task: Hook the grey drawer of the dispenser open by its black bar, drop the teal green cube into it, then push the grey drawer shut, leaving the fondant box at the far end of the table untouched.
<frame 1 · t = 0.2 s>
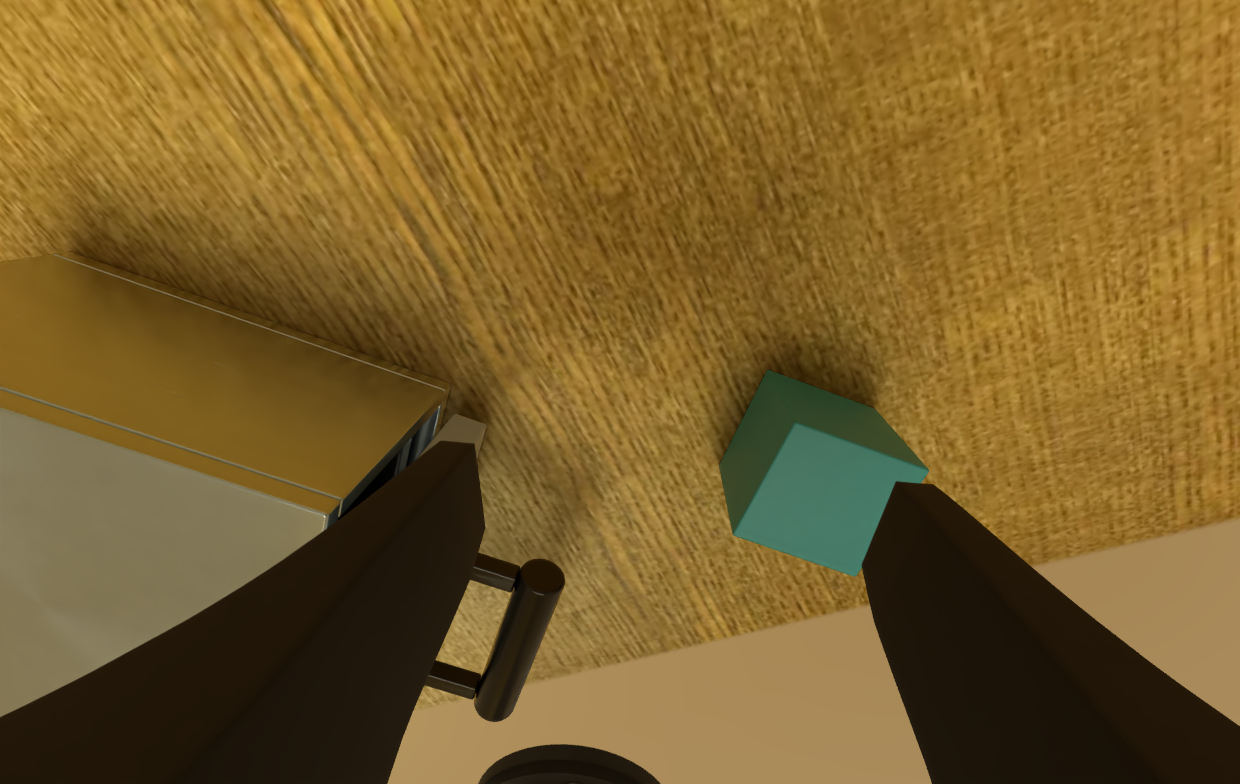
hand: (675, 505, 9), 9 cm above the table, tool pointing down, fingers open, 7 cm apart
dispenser: (254, 452, 21), on the table
grey drawer: (300, 553, 17), point 4 cm above the table, slide at 0.5 cm
teal green cube: (794, 438, 19), on the table
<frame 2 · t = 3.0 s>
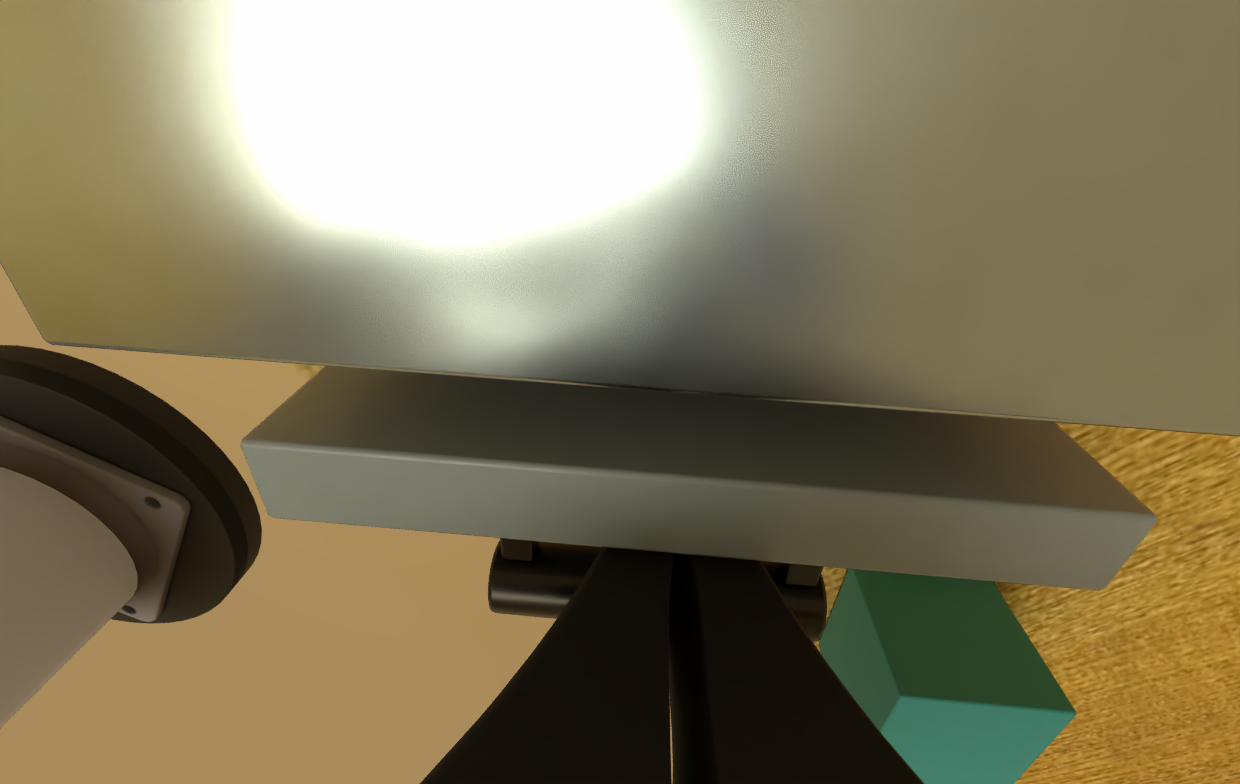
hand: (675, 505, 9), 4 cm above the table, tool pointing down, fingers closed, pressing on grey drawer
grey drawer: (702, 148, 7), point 4 cm above the table, slide at 1.5 cm, touching gripper
teal green cube: (897, 610, 17), on the table
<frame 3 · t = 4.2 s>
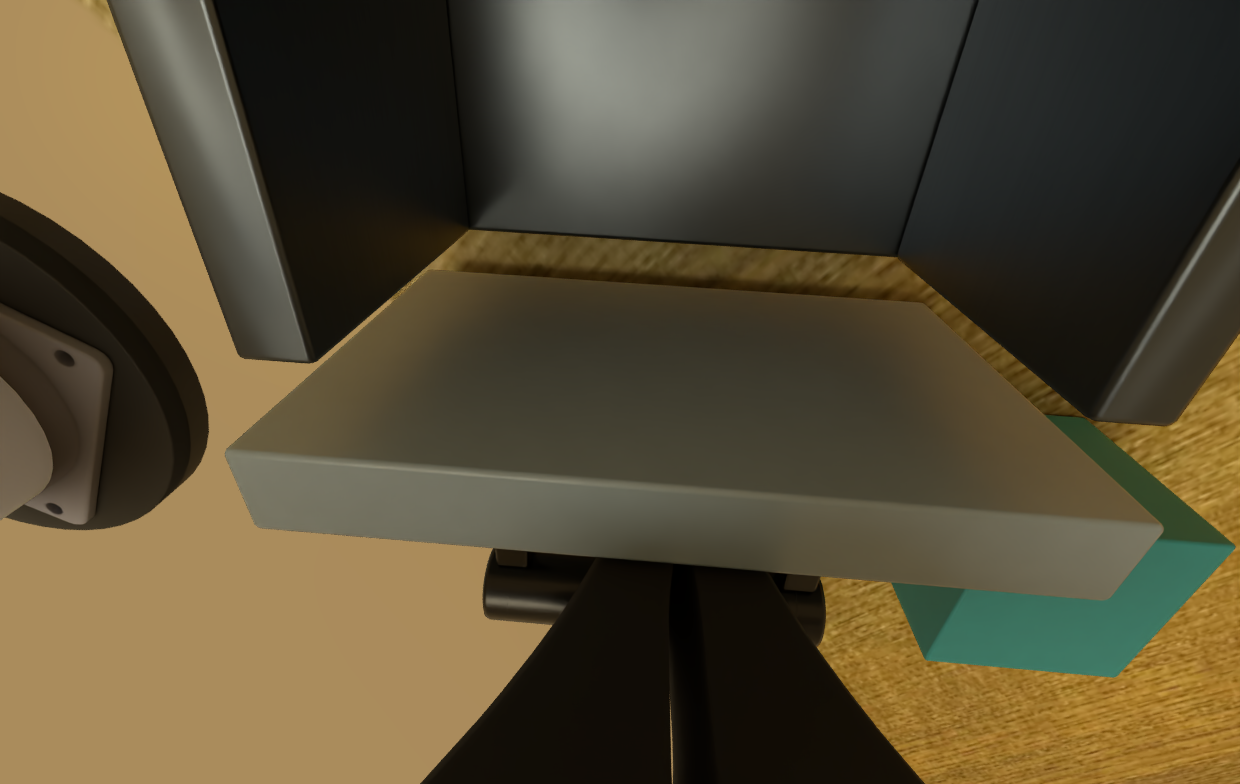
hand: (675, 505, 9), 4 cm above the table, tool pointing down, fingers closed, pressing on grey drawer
grey drawer: (697, 148, 7), point 4 cm above the table, slide at 7.1 cm, touching gripper
teal green cube: (966, 475, 14), on the table
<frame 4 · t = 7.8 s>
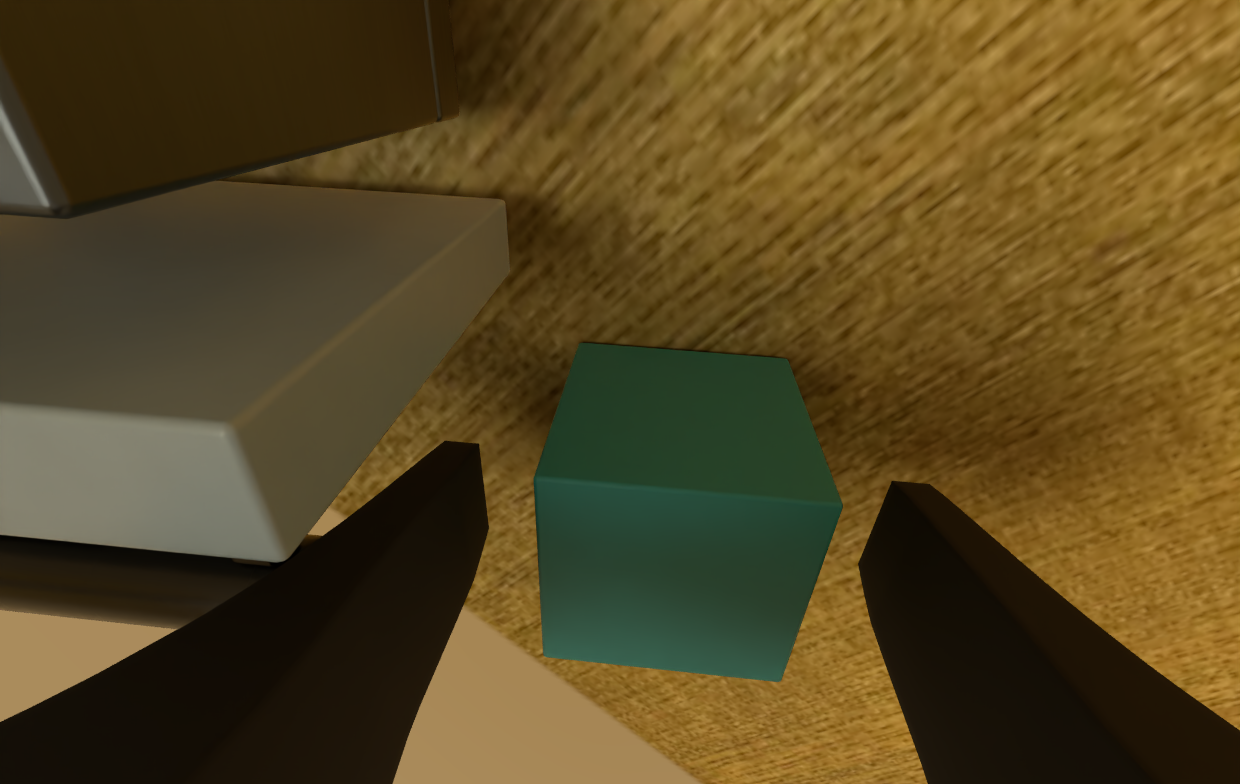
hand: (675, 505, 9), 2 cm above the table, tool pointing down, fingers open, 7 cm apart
teal green cube: (672, 433, 11), on the table
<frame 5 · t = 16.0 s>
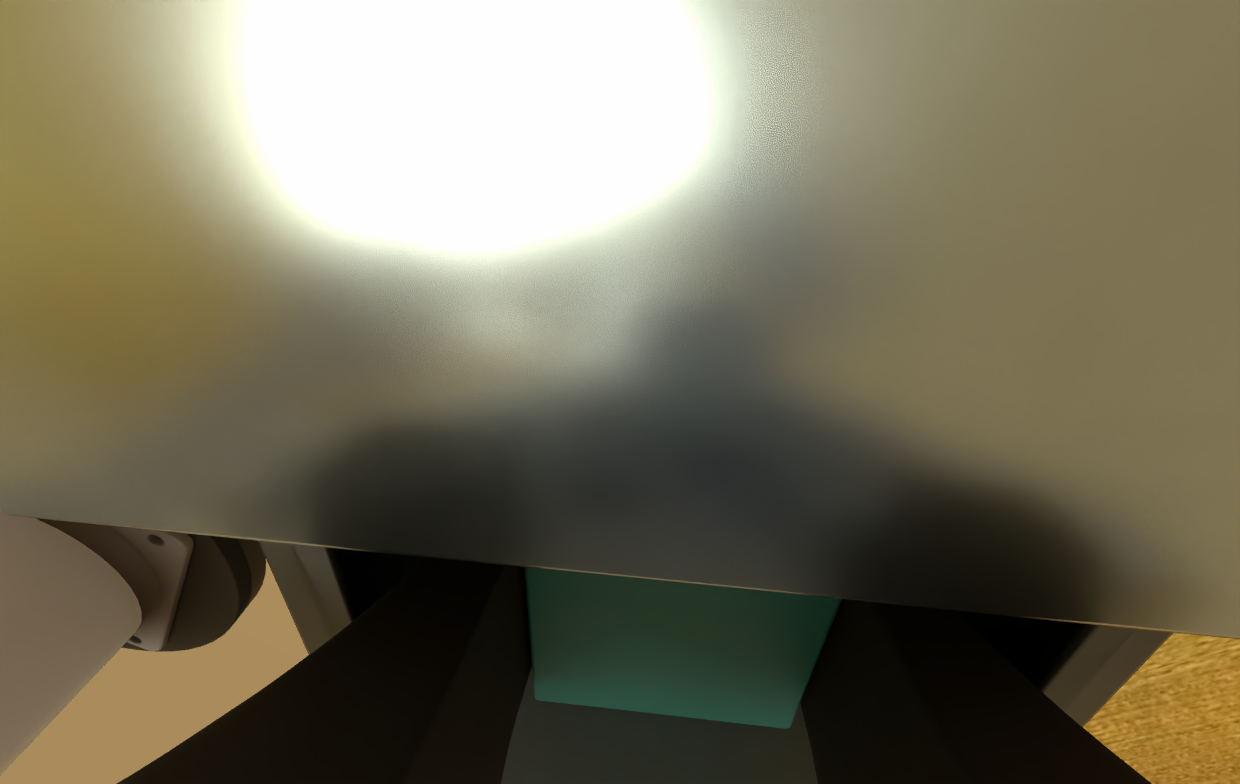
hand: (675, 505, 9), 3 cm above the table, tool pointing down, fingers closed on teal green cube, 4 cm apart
grey drawer: (669, 565, 9), point 4 cm above the table, slide at 7.1 cm, touching gripper
teal green cube: (673, 454, 11), point 2 cm above the table, touching gripper
when the fingers open (7 cm above the table, at t = 29.9 s): teal green cube drops 4 cm, resting on grey drawer.
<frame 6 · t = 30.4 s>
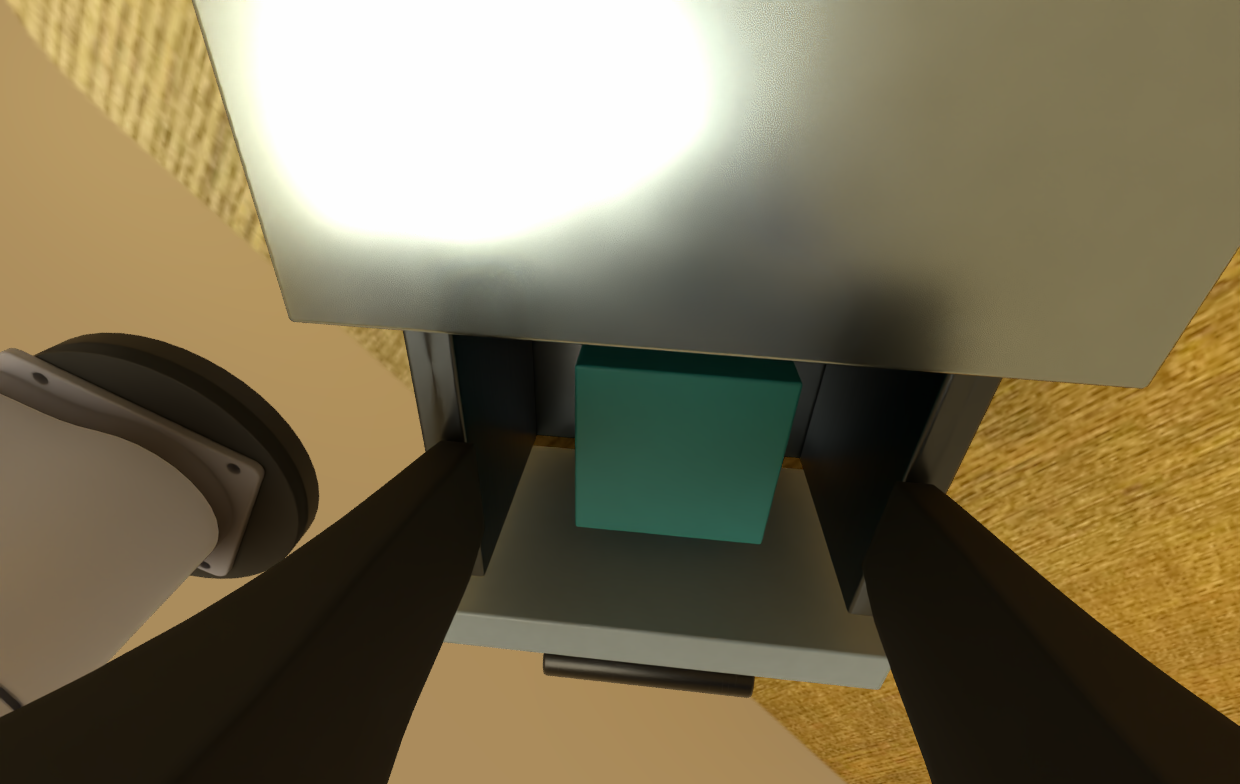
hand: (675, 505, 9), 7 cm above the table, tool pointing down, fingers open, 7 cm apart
grey drawer: (671, 439, 13), point 4 cm above the table, slide at 7.1 cm, touching teal green cube
teal green cube: (676, 364, 14), point 2 cm above the table, touching grey drawer
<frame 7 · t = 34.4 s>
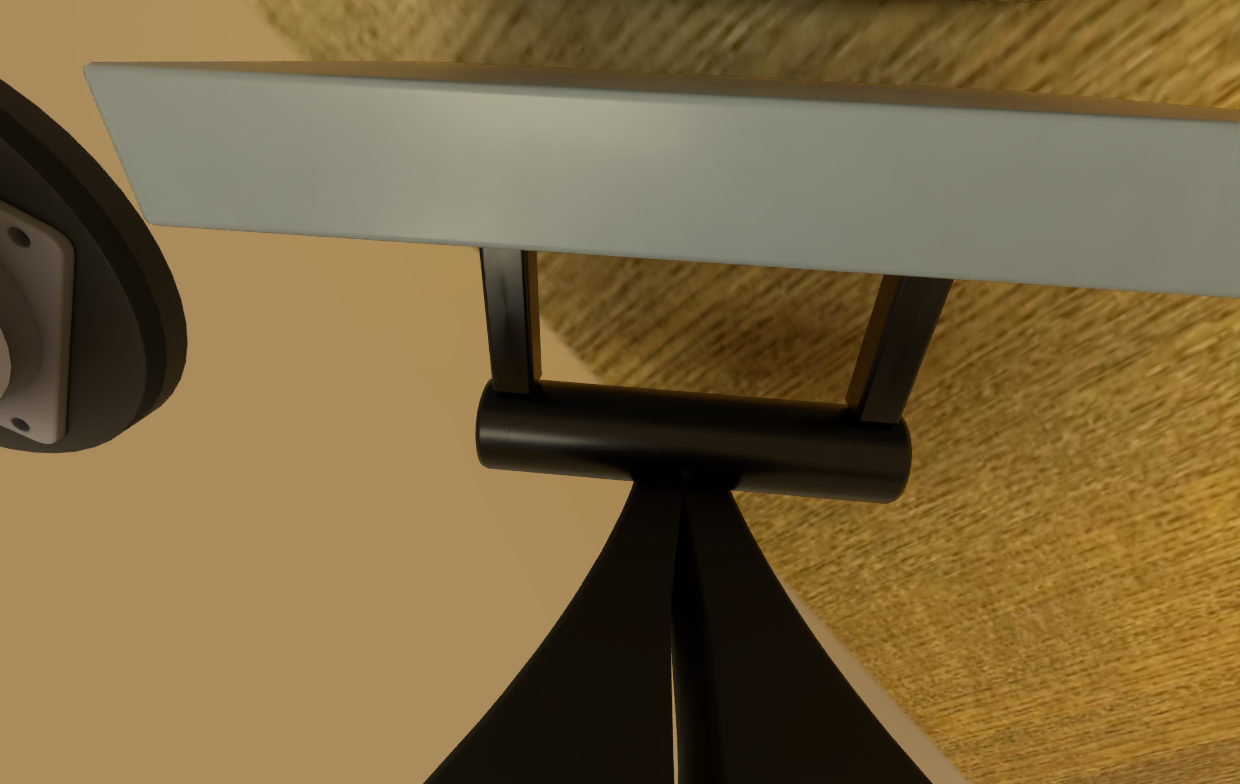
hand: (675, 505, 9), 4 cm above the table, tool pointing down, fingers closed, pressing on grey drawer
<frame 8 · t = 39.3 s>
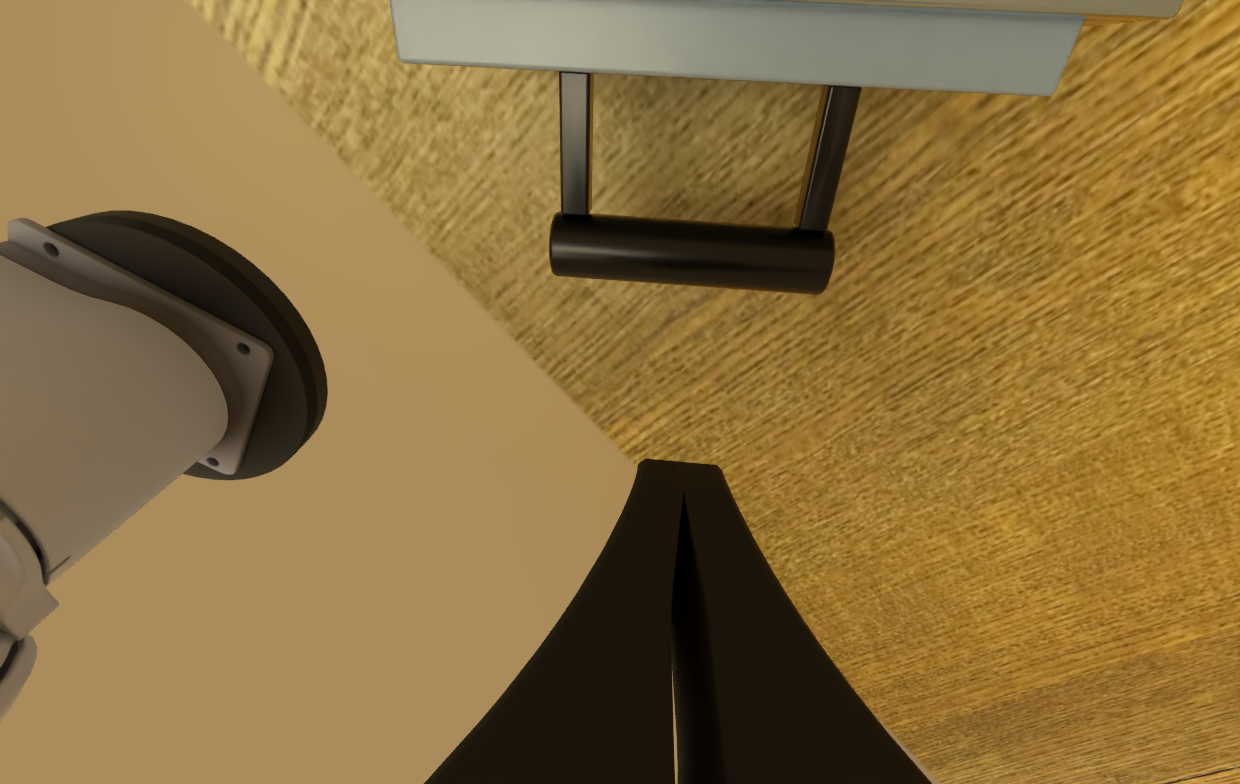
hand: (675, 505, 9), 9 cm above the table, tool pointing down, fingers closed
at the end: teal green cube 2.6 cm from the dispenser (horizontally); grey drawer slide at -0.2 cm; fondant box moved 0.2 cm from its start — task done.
